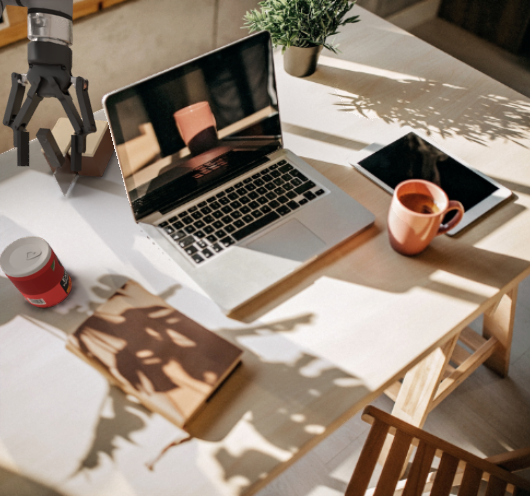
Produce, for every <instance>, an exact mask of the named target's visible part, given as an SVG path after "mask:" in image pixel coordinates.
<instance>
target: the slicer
mask: <svg viewBox="0 0 530 496" xmlns="http://www.w3.org/2000/svg"><path fill="white" fill-rule="evenodd" d="M35 138H36V139H37V140H38V143H39V145H40V147H41V149H42V148H43V150H44V152H45V154H46V156H47V158H48V160H49V162H50V164H51V165H52V167H57V168H56V170H55V172H54V173H53V174H52V177H53V179H54V180H55V183H56V185H57V186H58V188H59V190H60V192H61V193H62V196H63V197H66V196H67V194H68V192H69V190H70V188H71V186H72V184H73V182H74V180H75V178H76V176H77V173H76V174H75V172H74V171H71V164H70V162H69V160H68V158H67V155H66V154H64V155H63V154H62V152H61V150H60V148H59V146H58V144H57V142H56V140H55V138H54V136H53V134H52V130H51V128H45V127H39V128H38V130H37V132H36V134H35Z"/></svg>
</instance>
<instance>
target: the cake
mask: <svg viewBox="0 0 530 496" xmlns="http://www.w3.org/2000/svg"><path fill="white" fill-rule="evenodd" d="M107 121H108V120H102V119H101V120H100V119H95V123H96V128H97V131H96V132H95V133H91V134H88V135H87V137H86V152H85V153H82V171H74V172H75V174H76V175H77V173H78V175H79V176H86V177H95V178H96V177H97V178H102V177H103V175H104V173H105V171H106V169H107V166H108V165H109V162H110V159H112V155H113V154H114V151H115V149H114V145H113V141H112V137H111V133H110V129H109V125H110V124H109V125H108V122H109V121H108V122H107ZM51 132H52V134H53V136H54V138H55V140H56V142H57V144H58V146H59V148H60V150H61V152H62V154H63V155H64V154H66V155H67V158H68V160H69V162H70V164H71V135H76V134H74V132H75V131H74V129H73V127H72V125H71V123H70V121H69V119H68V117H58V120H57V121H56V123H55V125H54V127H53V128H52V130H51ZM40 151H41V152H42V155H43V157H44V159H45V161H46V162H47V164H48V166H49V168H50V170H51V172H52V173H53V174H54V172H55V170H56V168H57V167H52V165H51V164H50V162H49V160H48V158H47V156H46V154H45V152H44V150H43V148H42V147H41V149H40Z"/></svg>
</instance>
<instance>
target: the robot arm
mask: <svg viewBox="0 0 530 496" xmlns="http://www.w3.org/2000/svg"><path fill="white" fill-rule="evenodd" d="M7 6H13V7H22V8H27V9H26V10H27V11H26V13H27V38H28V40H30V41H28V43H26V44H27V45H26V46H27V49H26V50H27V51H26V52H27V53H26V54H27V55H26V57H27V58H26V60H27V64H28V70H27V71H26V73H19V72H15V71H13V72H11V74H10V79H11V87H10V91H9V95H8V99H7V102H6V107H5V110H4V115H3V118H2V125H3V126H4V127H8V128H10V129H11V130H12V133H13V134H12V135H13V136H12V139H13V140H12V141H13V143H12V145H13V148H14V149H15V148H16V166H17V167H30V131H28V129H27V127H28V125H29V123H30V121H31V119H32V118H33V116H34V114H35V112H36V111H37V108H38V106H39V105H40V103H41V102H42V101H43V100H44V99H45V98H48V99H50V98H54V99H57V101H59V102H60V104H61V106H62V108H63V111H64V112H65V115H66V116H67V117H66V118H68V119H69V121H70V123H71V125H72V127H73V129H74V131H75V132H74V134H76V135H71V171H82V153H85V152H86V137H87V135H88V134H91V133H95V132H96V131H97V128H96V123H95V120H96V119H95V116H94V112H93V107H92V104H91V103H92V102H91V99H90V95H89V84H90V83H89V81H90V80H89V79H88V78H85V77H83V76H80V75H78V76H73V73H72V69H73V50H72V48H71V47H72V46H73V43H74V33H73V32H74V30H73V29H74V28H73V27H74V25H73V23H74V17H73V16H74V0H0V18H1V17H2V16H3V14H4V12H5V9H6V7H7ZM29 84H30V87H29V88H28V90H27V92H26V87H27V86H28V85H29ZM72 85H73V88H74V89H75V95H76V99H77V104H78V107H79V111H80V113H79V112H78V109H77V107H76V105H75V103H74V101H73V100H74V99H73V96H72V94H71V93H70V88H71V87H72ZM25 94H26V98H25V100H24V96H25Z"/></svg>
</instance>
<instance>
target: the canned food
mask: <svg viewBox="0 0 530 496" xmlns="http://www.w3.org/2000/svg"><path fill="white" fill-rule="evenodd" d="M0 269H1V271H2V272H3V273H4V275H5V276H6V277H7V279H8V280H9V281H10V282H11V283H12V285H14V287H15V288H16V289H17V290H18V292H20V294H21V295H22V296H23V297H24V299H25V300H27V301H26V302H28V303H29V304H31V305H32V306H34V307H38V308H42V309H43V308H45V309H47V308H52V307H54V306H57V305H59V304H61V303H62V302H63V301H65V299H67V297H68V296H69V295H70V293H71V291H72V288H73V282H72V278H71V276H70V274H69V273H68V271H67V270H66V268H65V266H64V265H63V263H62V261H61V260H60V258H59V257H58V256H57V254H56V253H55V251H54V249H53V248H52V246H51V245H50V243H49V242H48V241H47V240H46V239H44V238H42V237H40V236H34V235H31V236H30V235H29V236H24V237H23V236H22V237H21V238H18V239H16V240H13V241H12V242H10V243H9V244H8V245H7V246H6V247H5V248H4V249H3V250H2V252H1V253H0Z"/></svg>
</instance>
